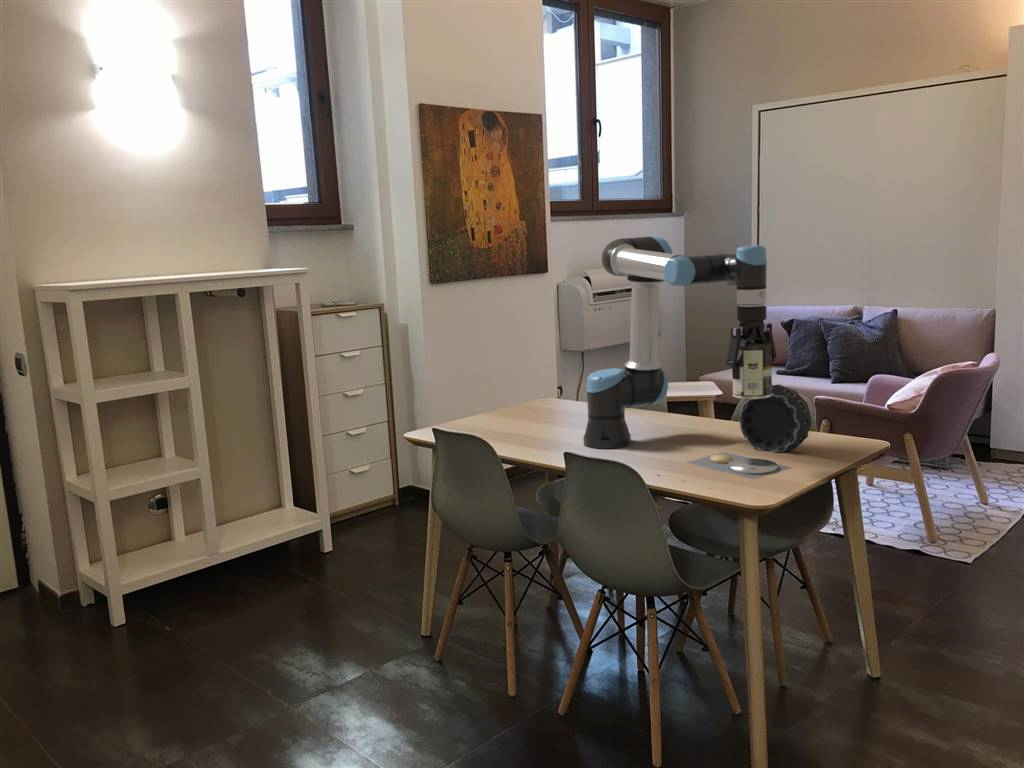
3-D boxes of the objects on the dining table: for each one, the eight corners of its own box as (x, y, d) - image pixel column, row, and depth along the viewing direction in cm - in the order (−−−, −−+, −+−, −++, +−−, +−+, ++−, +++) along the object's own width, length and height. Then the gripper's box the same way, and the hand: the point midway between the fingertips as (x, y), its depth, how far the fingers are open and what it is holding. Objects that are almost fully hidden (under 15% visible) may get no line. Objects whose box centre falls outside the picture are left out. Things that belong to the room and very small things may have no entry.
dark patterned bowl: (750, 445, 269) (750, 380, 266) (815, 452, 256) (815, 385, 253) (735, 452, 261) (734, 386, 258) (801, 461, 248) (801, 391, 245)
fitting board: (685, 467, 247) (685, 458, 247) (724, 457, 256) (724, 448, 256) (753, 484, 228) (753, 475, 228) (792, 472, 237) (792, 463, 237)
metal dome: (717, 468, 240) (717, 464, 239) (749, 459, 247) (749, 456, 247) (755, 477, 229) (755, 473, 229) (787, 468, 236) (787, 464, 236)
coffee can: (759, 391, 241) (759, 340, 238) (779, 397, 231) (779, 344, 228) (725, 394, 238) (724, 343, 236) (744, 400, 228) (743, 347, 226)
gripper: (733, 309, 221) (734, 396, 225) (790, 302, 234) (790, 384, 238) (711, 308, 227) (712, 392, 231) (768, 301, 240) (768, 381, 244)
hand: (751, 388), depth 234 cm, fingers closed on coffee can, 10 cm apart
